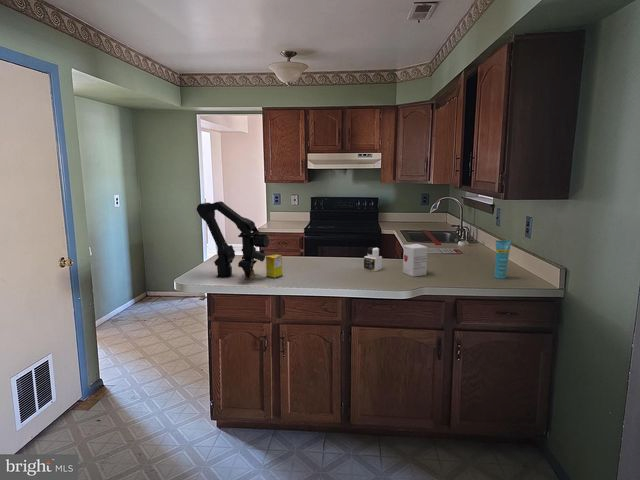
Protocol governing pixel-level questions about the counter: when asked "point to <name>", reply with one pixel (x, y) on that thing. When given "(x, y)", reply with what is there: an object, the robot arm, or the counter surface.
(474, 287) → the counter surface
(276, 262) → the supplement box
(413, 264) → the supplement box
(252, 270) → the walnut cube
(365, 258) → the medicine bottle
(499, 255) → the tube
